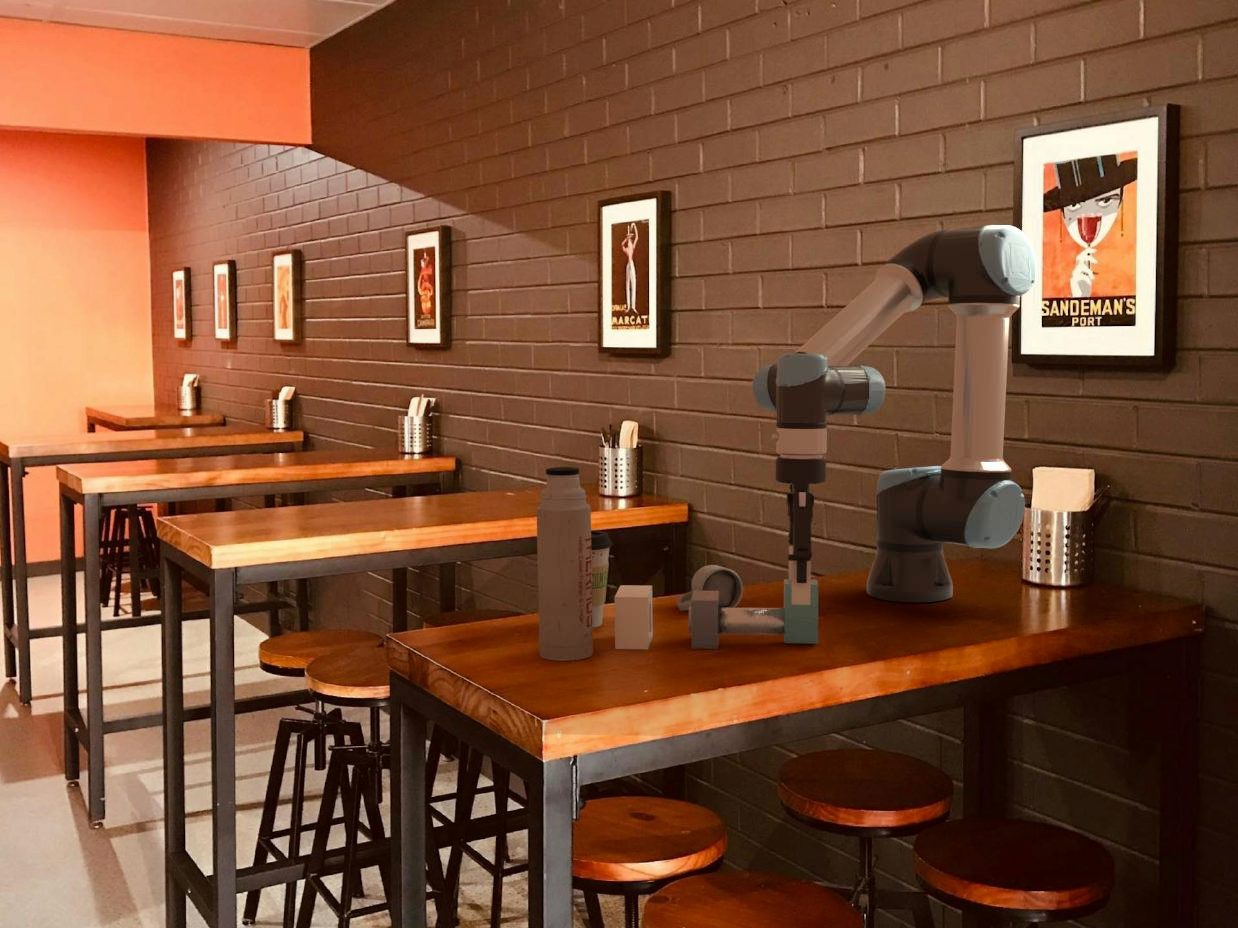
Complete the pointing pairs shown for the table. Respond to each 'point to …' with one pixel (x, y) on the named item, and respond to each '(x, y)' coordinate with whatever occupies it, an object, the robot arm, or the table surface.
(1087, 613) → the table surface
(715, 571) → the ceramic mug
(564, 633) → the thermos bottle
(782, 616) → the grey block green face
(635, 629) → the socket block
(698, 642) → the square hollow collar
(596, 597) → the coffee cup
